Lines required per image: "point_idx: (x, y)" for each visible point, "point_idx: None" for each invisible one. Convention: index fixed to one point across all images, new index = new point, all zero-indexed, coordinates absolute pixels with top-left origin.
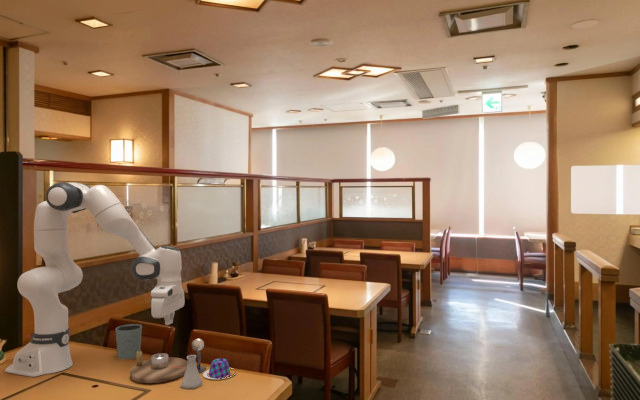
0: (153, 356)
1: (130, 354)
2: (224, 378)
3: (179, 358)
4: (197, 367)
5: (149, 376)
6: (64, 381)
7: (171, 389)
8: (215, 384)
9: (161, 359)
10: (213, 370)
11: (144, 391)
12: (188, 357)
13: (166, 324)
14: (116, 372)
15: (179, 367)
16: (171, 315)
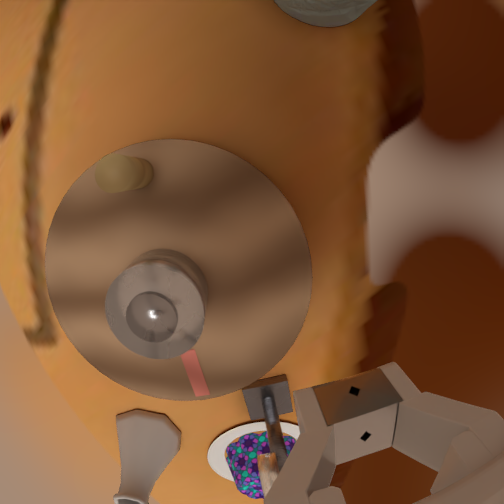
0: (128, 287)
1: (289, 2)
2: (228, 479)
3: (305, 306)
4: (262, 403)
5: (64, 323)
6: (21, 6)
7: (93, 397)
8: (188, 472)
9: (130, 345)
10: (233, 469)
11: (38, 330)
12: (127, 495)
13: (296, 404)
14: (121, 72)
15: (196, 379)
16: (436, 451)
